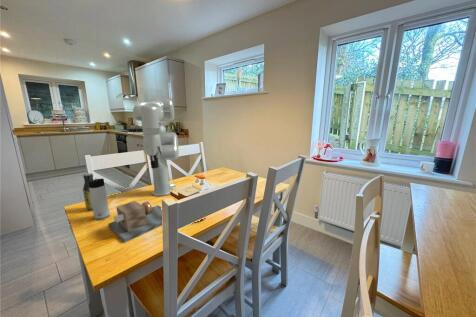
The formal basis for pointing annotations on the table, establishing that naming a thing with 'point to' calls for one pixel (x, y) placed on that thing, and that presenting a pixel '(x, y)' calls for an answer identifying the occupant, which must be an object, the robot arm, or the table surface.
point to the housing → (136, 220)
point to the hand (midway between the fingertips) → (155, 167)
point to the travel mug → (98, 199)
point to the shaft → (147, 205)
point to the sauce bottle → (87, 191)
